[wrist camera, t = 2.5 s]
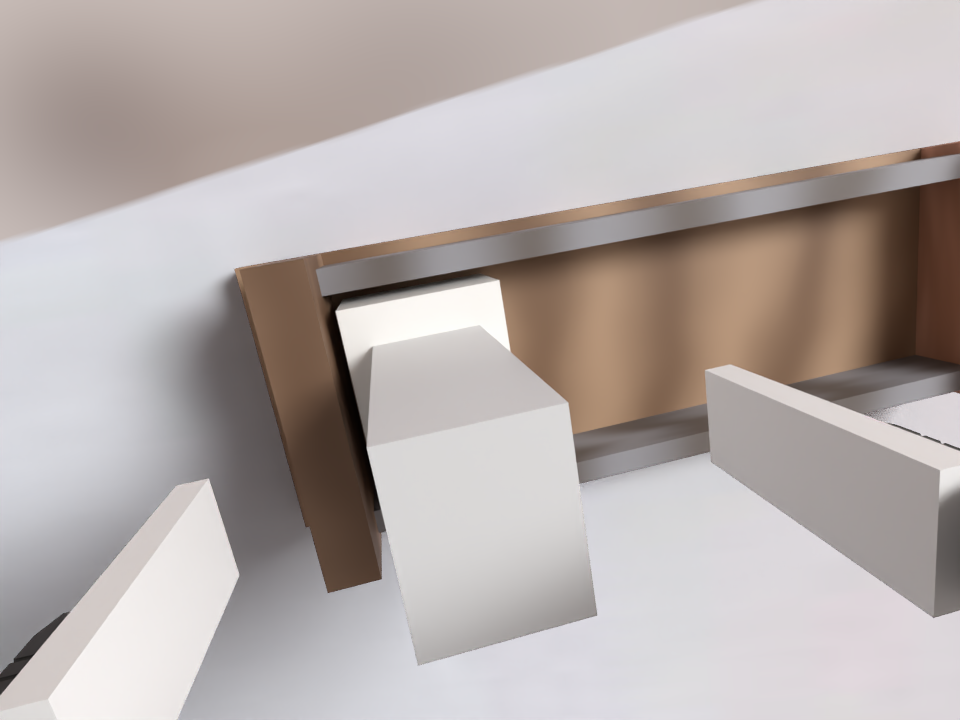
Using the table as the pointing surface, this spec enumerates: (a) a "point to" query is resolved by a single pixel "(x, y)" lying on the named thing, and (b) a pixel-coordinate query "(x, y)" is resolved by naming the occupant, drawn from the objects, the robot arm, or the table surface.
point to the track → (639, 318)
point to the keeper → (467, 467)
